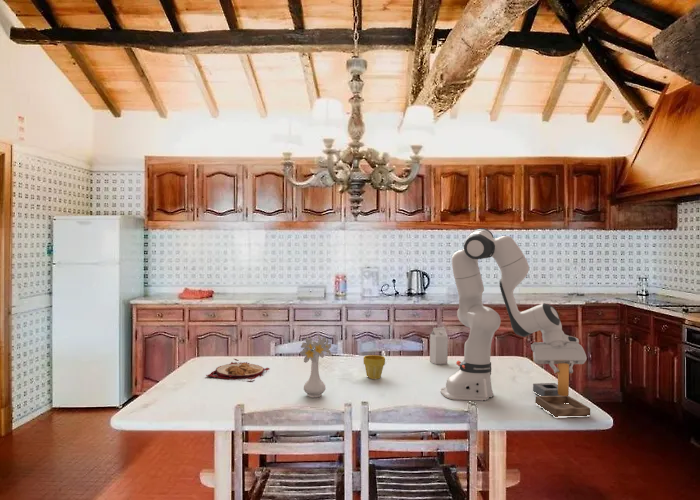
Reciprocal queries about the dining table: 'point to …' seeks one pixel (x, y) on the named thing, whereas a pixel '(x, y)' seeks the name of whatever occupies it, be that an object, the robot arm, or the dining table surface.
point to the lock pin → (563, 379)
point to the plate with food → (238, 371)
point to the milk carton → (438, 346)
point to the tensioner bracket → (546, 389)
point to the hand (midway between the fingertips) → (563, 372)
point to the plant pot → (374, 366)
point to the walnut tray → (562, 406)
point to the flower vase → (314, 365)
